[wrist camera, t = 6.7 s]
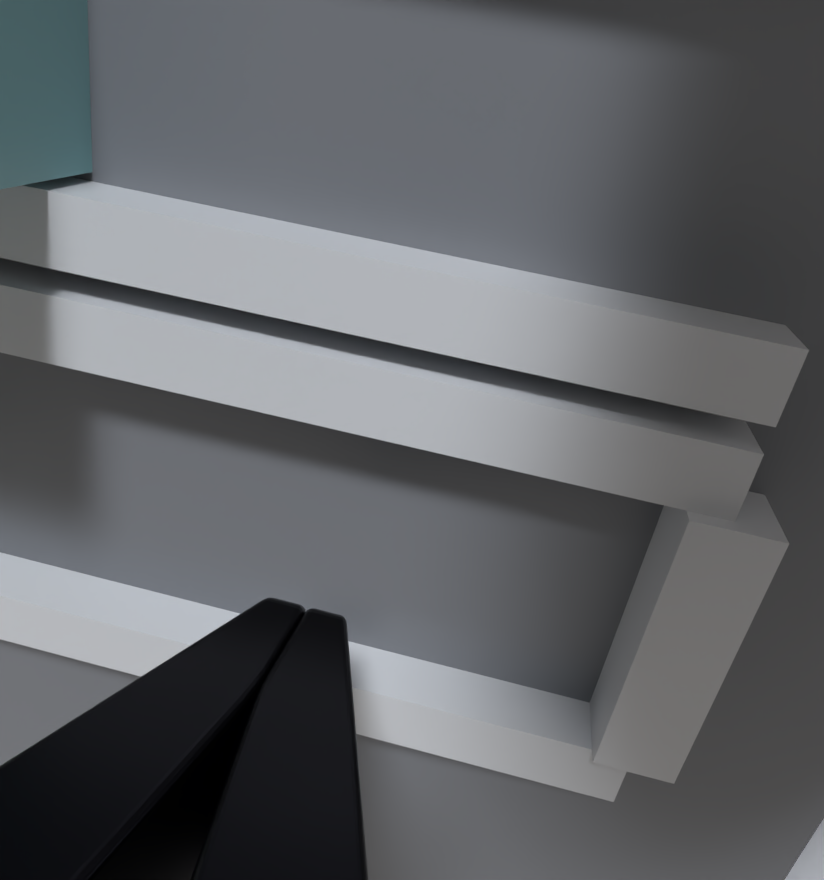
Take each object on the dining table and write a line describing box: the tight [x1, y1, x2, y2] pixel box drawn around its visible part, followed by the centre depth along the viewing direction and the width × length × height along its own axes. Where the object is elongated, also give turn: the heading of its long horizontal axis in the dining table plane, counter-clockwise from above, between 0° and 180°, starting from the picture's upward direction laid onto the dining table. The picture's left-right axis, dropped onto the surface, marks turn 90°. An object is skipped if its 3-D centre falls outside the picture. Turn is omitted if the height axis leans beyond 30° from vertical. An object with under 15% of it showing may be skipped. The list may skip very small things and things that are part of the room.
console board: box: [0, 0, 824, 880], centre depth 9 cm, size 20×16×5 cm
